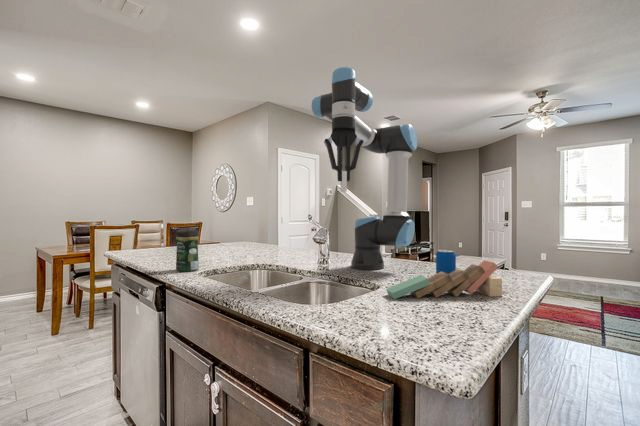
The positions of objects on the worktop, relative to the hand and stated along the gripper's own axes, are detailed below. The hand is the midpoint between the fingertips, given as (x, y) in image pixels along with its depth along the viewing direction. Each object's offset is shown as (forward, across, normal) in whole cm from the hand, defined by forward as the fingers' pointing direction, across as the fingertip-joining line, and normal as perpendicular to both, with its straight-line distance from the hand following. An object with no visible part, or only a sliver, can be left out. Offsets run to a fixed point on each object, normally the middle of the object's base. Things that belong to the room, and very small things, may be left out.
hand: (343, 191), depth 101 cm
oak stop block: (+32, +45, -8) cm, 56 cm away
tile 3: (+32, +26, -8) cm, 42 cm away
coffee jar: (+33, -61, +45) cm, 83 cm away
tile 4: (+32, +32, -8) cm, 46 cm away
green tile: (+32, +13, -8) cm, 35 cm away
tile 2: (+32, +20, -8) cm, 38 cm away
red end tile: (+31, +37, -8) cm, 49 cm away
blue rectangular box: (+33, +38, +5) cm, 50 cm away
